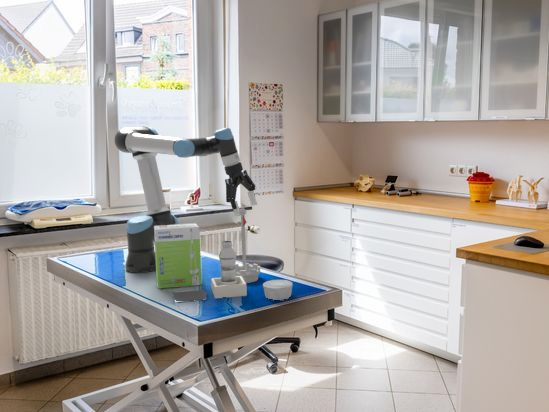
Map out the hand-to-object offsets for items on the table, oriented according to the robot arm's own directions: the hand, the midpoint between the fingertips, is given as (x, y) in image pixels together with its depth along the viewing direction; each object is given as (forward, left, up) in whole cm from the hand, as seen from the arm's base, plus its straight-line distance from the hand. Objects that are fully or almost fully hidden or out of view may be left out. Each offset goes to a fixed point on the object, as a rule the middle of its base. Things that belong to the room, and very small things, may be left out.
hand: (246, 210), depth 254 cm
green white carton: (-31, -14, -27) cm, 43 cm away
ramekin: (+4, -43, -27) cm, 51 cm away
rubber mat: (-28, -33, -27) cm, 51 cm away
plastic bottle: (-13, -32, -27) cm, 44 cm away
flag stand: (-4, -15, -27) cm, 31 cm away
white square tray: (-13, -32, -27) cm, 43 cm away
